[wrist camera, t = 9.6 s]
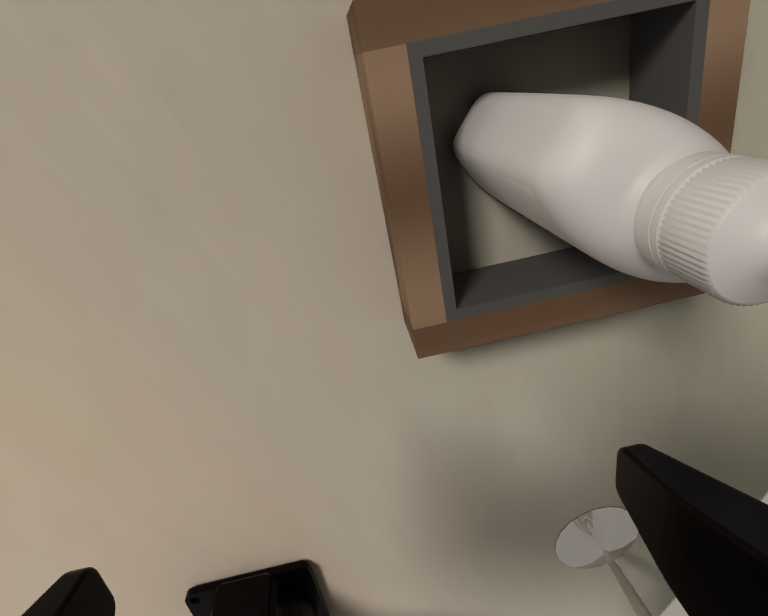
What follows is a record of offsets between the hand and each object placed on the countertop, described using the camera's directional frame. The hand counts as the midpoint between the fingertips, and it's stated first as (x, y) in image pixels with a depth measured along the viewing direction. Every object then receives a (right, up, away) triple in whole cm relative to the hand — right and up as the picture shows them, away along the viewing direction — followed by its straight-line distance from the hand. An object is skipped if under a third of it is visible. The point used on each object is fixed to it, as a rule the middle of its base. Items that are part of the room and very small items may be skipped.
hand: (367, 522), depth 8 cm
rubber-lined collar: (+5, +9, +9) cm, 14 cm away
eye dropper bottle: (+5, +9, +9) cm, 14 cm away
